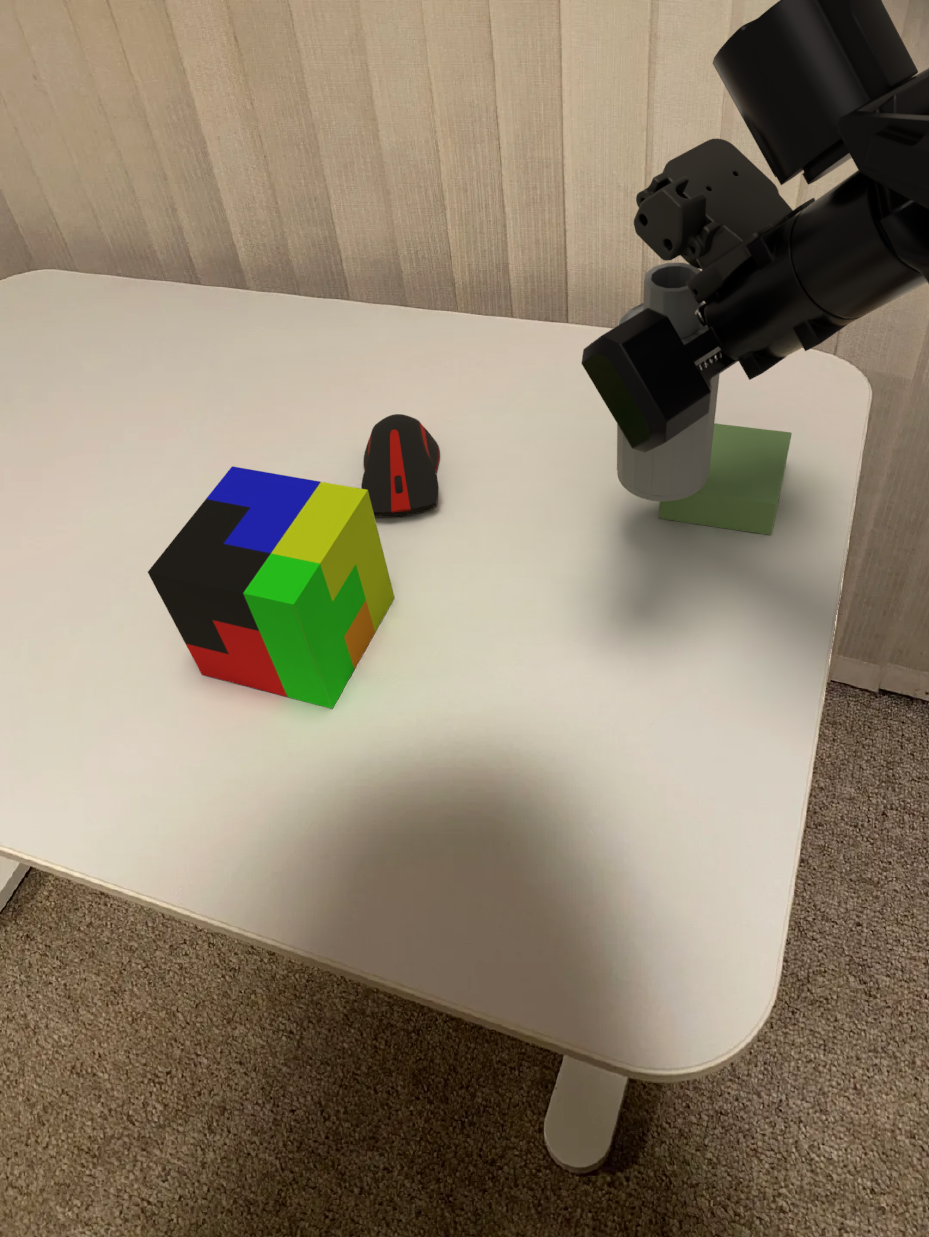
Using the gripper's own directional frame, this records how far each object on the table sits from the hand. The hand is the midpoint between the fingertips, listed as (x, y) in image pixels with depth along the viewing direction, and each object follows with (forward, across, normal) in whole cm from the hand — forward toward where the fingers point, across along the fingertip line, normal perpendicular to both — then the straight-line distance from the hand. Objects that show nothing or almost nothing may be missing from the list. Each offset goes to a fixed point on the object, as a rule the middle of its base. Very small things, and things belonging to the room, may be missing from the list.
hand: (651, 374), depth 57 cm
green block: (+8, -7, +10) cm, 15 cm away
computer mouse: (+22, +9, -3) cm, 24 cm away
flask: (+4, 0, +6) cm, 7 cm away
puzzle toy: (+16, +24, +2) cm, 29 cm away
